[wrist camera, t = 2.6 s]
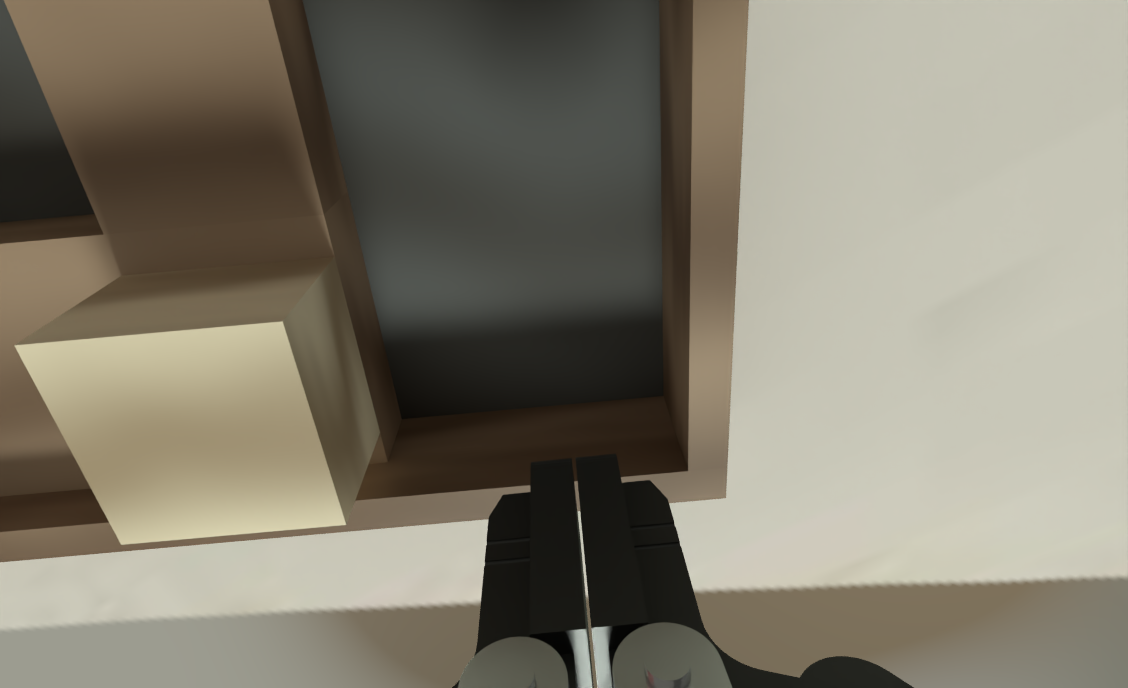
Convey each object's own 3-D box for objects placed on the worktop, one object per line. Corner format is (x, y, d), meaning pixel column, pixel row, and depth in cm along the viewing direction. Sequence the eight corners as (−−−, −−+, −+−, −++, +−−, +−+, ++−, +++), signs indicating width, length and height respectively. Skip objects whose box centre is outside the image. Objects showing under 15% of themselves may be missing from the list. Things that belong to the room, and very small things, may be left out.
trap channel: (-489, -17, 14) (-832, -25, 11) (700, -126, 14) (756, -170, 10) (-122, 485, 21) (-259, 585, 17) (692, 413, 21) (725, 498, 17)
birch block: (120, 275, 15) (14, 345, 12) (334, 256, 15) (282, 321, 12) (194, 449, 17) (121, 544, 14) (380, 432, 17) (346, 525, 14)
